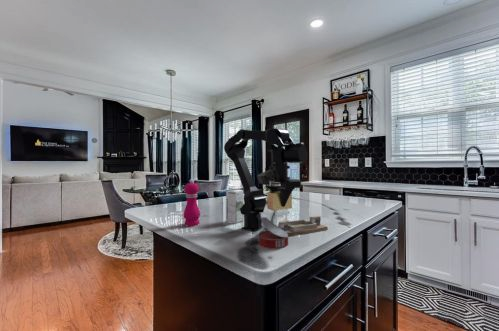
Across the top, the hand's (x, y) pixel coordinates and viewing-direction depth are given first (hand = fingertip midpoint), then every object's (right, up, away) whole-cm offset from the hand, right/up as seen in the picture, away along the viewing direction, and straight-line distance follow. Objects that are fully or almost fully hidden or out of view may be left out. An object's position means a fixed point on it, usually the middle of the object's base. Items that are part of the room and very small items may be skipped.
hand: (279, 205), depth 89 cm
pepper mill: (-36, -11, +18) cm, 42 cm away
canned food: (-3, -12, -8) cm, 15 cm away
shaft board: (+9, -11, +7) cm, 16 cm away
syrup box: (-18, -11, +22) cm, 30 cm away
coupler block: (0, -1, 0) cm, 1 cm away
